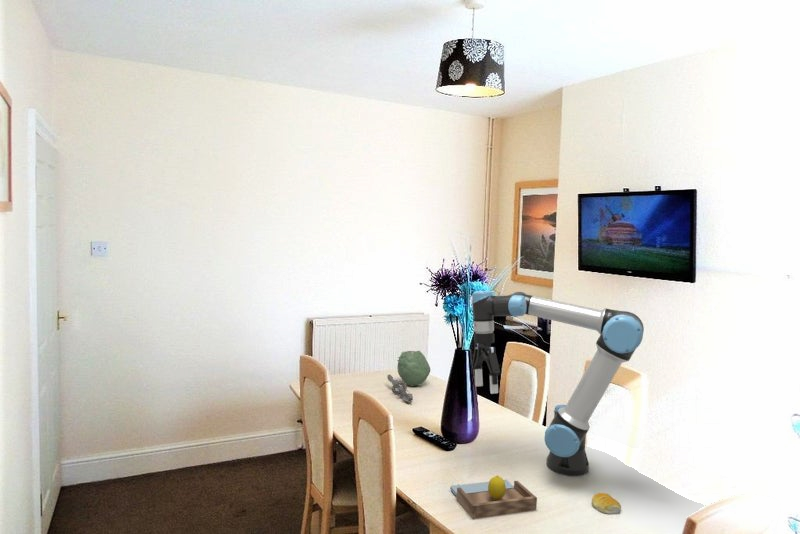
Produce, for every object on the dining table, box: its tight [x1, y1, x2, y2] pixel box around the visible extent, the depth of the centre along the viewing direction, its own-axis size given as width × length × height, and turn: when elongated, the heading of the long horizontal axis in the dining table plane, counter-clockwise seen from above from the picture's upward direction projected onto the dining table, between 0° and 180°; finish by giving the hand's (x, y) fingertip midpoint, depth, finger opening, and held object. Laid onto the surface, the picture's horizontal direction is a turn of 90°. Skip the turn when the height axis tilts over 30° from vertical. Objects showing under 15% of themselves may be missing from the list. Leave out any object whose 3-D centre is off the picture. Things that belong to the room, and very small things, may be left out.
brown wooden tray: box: [456, 480, 538, 520], centre depth 171 cm, size 22×12×4 cm, turn 108°
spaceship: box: [386, 374, 414, 403], centre depth 283 cm, size 8×35×8 cm
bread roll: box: [591, 492, 622, 515], centre depth 173 cm, size 8×9×4 cm
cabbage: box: [396, 350, 431, 387], centre depth 302 cm, size 16×19×20 cm
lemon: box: [488, 475, 506, 500], centre depth 171 cm, size 6×6×8 cm
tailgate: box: [449, 479, 514, 497], centre depth 180 cm, size 21×1×6 cm
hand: (486, 389), depth 200 cm, fingers open, 13 cm apart
